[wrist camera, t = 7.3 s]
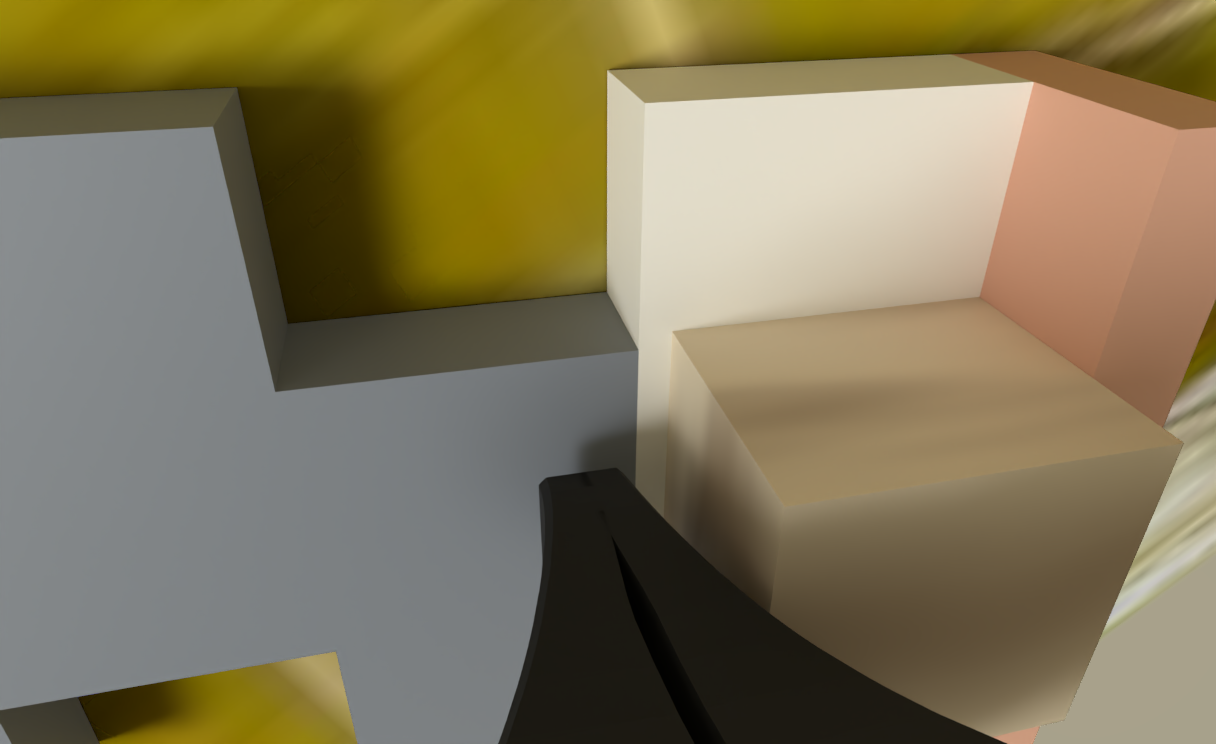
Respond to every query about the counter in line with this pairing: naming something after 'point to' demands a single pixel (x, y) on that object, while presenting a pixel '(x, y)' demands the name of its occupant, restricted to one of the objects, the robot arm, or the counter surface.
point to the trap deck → (503, 355)
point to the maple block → (916, 496)
